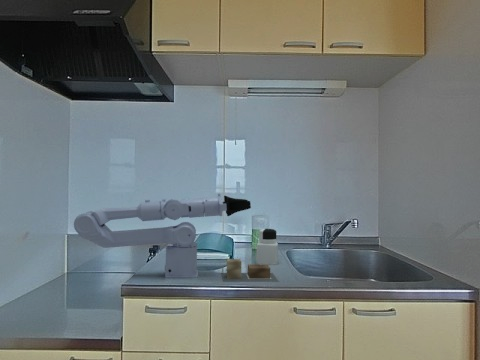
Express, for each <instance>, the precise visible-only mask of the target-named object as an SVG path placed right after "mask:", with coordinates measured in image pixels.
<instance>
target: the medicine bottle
mask: <svg viewBox="0 0 480 360" xmlns="http://www.w3.org/2000/svg"><path fill="white" fill-rule="evenodd" d="M278 248H279V243H278V242H277V230H275V229H274V228H261V229H260V230H258V241H257V244H256V252H255V253H256V255H255V257H256V260H255V264H257V265H268V266H269V265H270V266H271V265H273V266H278V262H279V260H278V256H279V249H278Z"/></svg>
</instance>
